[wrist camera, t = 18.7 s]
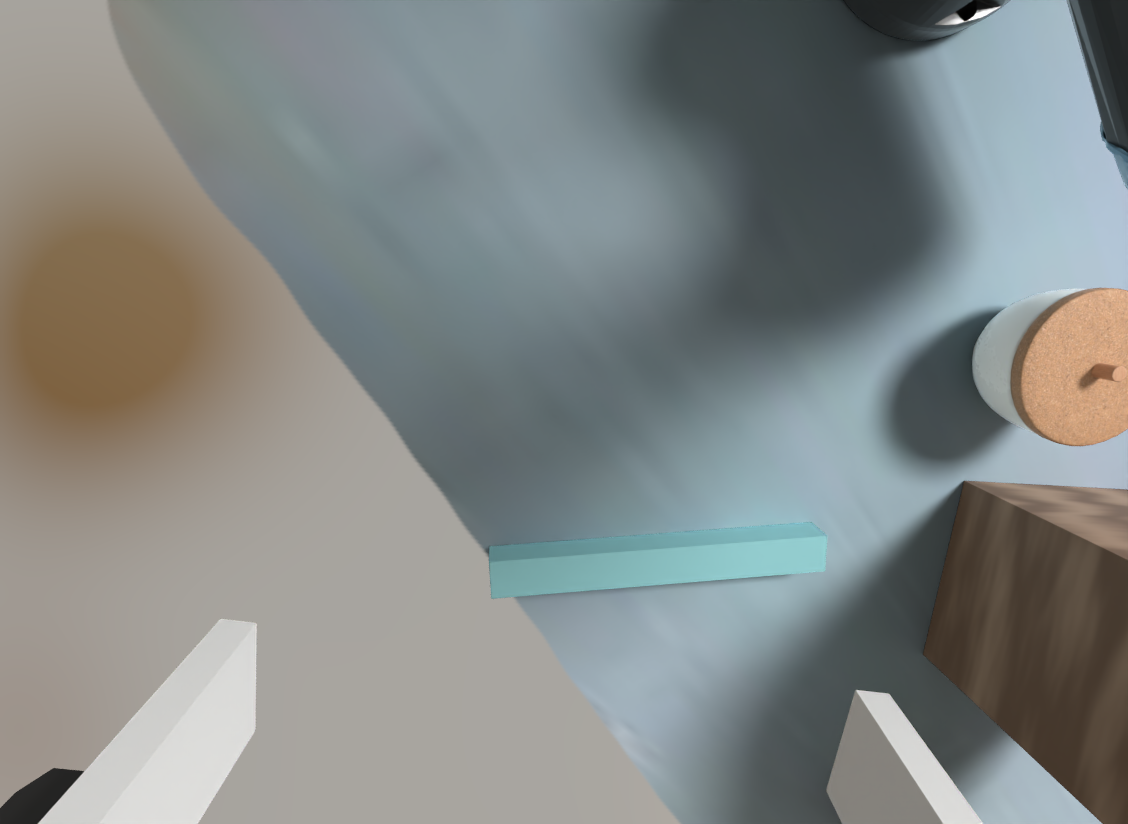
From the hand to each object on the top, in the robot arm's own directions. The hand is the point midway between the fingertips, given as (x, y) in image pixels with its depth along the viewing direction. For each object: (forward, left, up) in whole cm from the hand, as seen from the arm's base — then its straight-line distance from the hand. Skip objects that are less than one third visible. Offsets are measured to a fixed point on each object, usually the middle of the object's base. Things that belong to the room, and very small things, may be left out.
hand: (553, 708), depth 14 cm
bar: (+6, +16, -35) cm, 39 cm away
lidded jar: (-21, +32, -35) cm, 52 cm away
